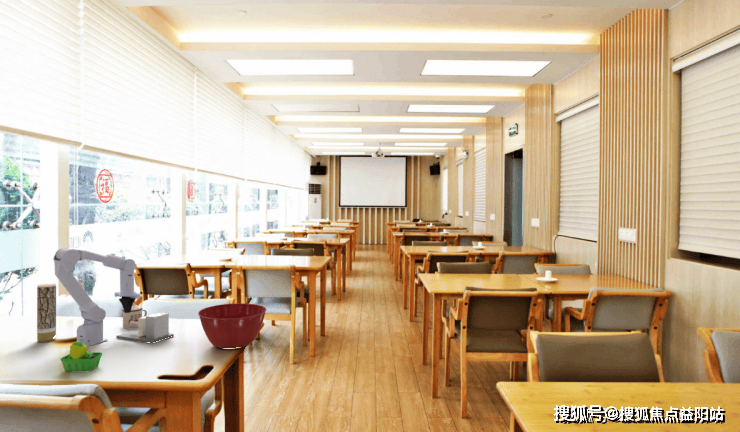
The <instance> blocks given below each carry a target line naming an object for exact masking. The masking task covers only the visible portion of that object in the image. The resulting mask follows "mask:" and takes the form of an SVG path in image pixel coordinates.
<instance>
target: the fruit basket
mask: <svg viewBox="0 0 740 432" xmlns="http://www.w3.org/2000/svg"><path fill="white" fill-rule="evenodd" d="M88 347H89V346H86V345H84V344H82V343H81V342H80V341H77V340H76V341H74V342H72V343H71V345H70V346H69V348H70V349H69V353H68V354H67V355H65V356H62V357H61V358H60V361H61V365H62V366H63V367H62V368H63V370H64V372H68V371H70V372H72V371H77V372H78V371H84V372H85V371H90V372H91V371H94V370H95V369H96V368H98V367H99V364H100V361H101V357H102V355H103V352H99V351H97V352H92V351H89V352H88ZM94 368H95V369H94ZM68 373H69V372H68Z"/></svg>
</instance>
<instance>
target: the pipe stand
mask: <svg viewBox="0 0 740 432" xmlns="http://www.w3.org/2000/svg"><path fill="white" fill-rule="evenodd" d="M169 317H170V315H169V312H157V313H152V314H149V315H146V338H147V339H153V340H155V339H158V338H161V337H164V336H167V335H169V333H170V332H169V331H170V330H169V322H170V321H169V320H170V318H169ZM129 324H130V325H133V326H138V322H133V321H131V322H130V323H129Z"/></svg>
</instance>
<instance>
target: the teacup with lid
mask: <svg viewBox="0 0 740 432" xmlns="http://www.w3.org/2000/svg"><path fill="white" fill-rule="evenodd" d="M143 312H144V315H143ZM145 316H148V311H147V310H146V309H143V306H140V305H137V304H135V302H133V305H132V308H131V312H129V313H125V312H124V309H123V308H122V328H124V329H125V328H126V329H133V328H138V326H133V325H130V324H129V323H130V322H131V321H133V322H138V318H141V317H145Z"/></svg>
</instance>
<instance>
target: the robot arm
mask: <svg viewBox="0 0 740 432" xmlns="http://www.w3.org/2000/svg"><path fill="white" fill-rule="evenodd" d="M52 260H53V262H54V275H55V277H56V278H57V279H58V280H59V283H61V285H62V286H63V287H64V288H65V290H66V291H67V292H68V293H69V295H70V296H71V297H72V299H73V300H74V301H75V303H76V304H77V305H78V310H79V311H80V315H81V317H82V319H83V320H84V321H83V323H82V324H81V325H78V326H77V328H76V341H80V342H81V343H82V344H84V345H86V346H87V347H90V346H93V345H97V344H100V343H103V342H107V341H108V338H104V320H105V318H106V316H107V315H106V314H107V313H106V311H105V309H104V308H102V307H100V306H99V304H97V303H96V302H95V301H93V299H92V298H91V297H90V295H89V294H88V293H87V292H86V290H85V289H84V288H83V286H82V285H81V283H80V282H79V281H78V279H77V278H76V277H75V275H74V274H73V273H72V272H73V270H74V268H75V266H76V265H77V264H78V263H79V261H85V260H89V261H94V262H97V263H98V262H99V263H101V264H102V265H103V266H104V267H106V268H111V269H116V270H119V289H120V290H119V291H116V292H114V297H115V298H116V297H120V298H119V299H118V301H119V302H120V304H121V305H122V310H123V309H124V312H125V313H129V312H131V308H132V305H133V303H135V301H136V300H137V299H141V293H137V292H136V291H135V269H136V268H137V263H136V261H135V260H134V259H132V258H126V256H119V255H116V254H115V253H108V254H106V255H102V254H99V253H95V252H91V251H90V250H89V251H88V250H84V249H75V248H66V247H63V248H62V247H61V248H59V249H58V250H56V252H55V254H54V255H53V258H52Z"/></svg>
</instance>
